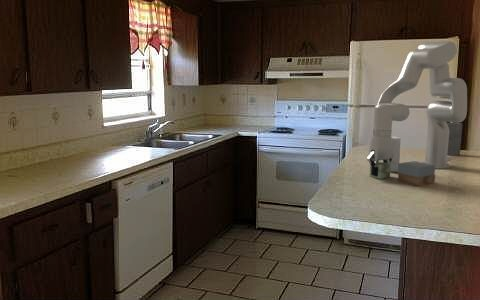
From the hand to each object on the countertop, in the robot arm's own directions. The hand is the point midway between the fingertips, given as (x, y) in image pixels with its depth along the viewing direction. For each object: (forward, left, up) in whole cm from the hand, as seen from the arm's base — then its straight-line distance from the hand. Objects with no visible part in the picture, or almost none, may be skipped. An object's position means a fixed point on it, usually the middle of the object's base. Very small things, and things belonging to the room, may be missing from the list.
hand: (379, 174), depth 195 cm
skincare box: (-15, -7, -1) cm, 16 cm away
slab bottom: (-6, +14, -2) cm, 15 cm away
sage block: (0, 0, -1) cm, 1 cm away
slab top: (-6, +14, +2) cm, 15 cm away
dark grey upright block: (-74, -20, -1) cm, 76 cm away
